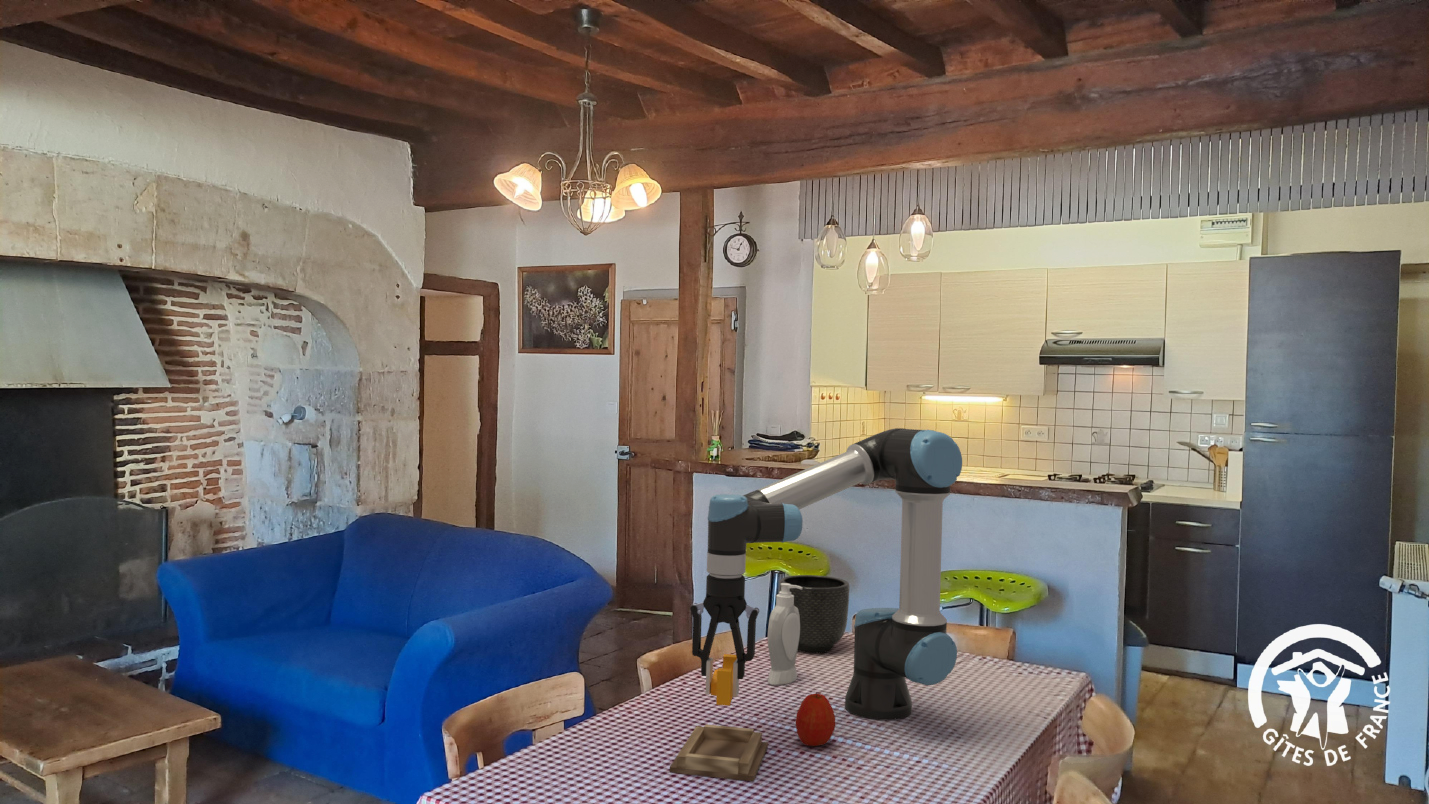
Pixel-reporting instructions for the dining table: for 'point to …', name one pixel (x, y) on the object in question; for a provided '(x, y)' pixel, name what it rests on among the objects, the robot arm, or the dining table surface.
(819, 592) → the planter
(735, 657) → the orange stepped block
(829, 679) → the dining table surface
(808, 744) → the apple
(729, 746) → the tray
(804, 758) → the dining table surface
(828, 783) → the dining table surface
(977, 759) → the dining table surface
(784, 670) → the soap bottle
